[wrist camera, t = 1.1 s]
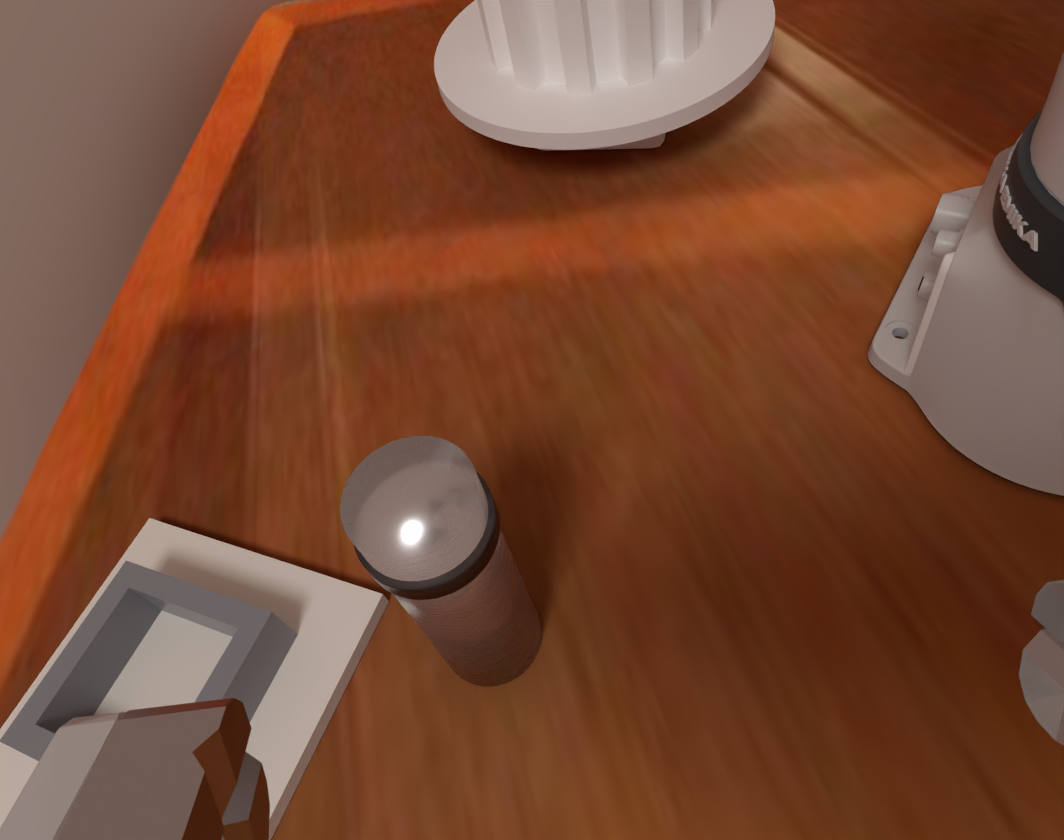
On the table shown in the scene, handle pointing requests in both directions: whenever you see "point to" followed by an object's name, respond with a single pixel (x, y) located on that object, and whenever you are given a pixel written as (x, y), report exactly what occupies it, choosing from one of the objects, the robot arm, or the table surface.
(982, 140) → the table surface
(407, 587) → the capped metal cylinder
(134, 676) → the socket mount
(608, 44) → the flanged gear
